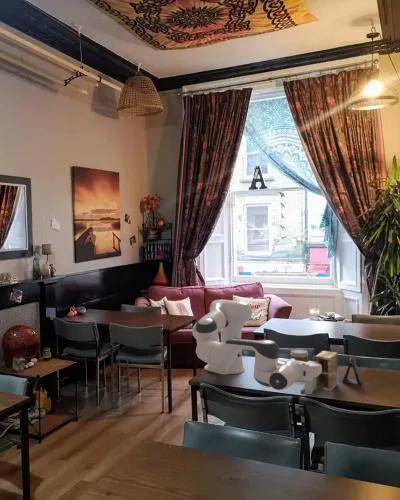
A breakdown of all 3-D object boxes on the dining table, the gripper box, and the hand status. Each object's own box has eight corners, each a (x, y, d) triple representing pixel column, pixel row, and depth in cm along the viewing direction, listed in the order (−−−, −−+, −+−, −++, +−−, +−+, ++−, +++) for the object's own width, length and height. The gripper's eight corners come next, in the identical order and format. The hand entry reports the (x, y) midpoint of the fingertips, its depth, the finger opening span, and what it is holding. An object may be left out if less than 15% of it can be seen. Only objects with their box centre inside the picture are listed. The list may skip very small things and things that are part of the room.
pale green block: (304, 393, 214) (304, 364, 214) (309, 389, 220) (309, 360, 219) (311, 394, 213) (311, 365, 212) (316, 390, 218) (316, 361, 218)
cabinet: (300, 393, 215) (300, 359, 214) (315, 380, 232) (315, 349, 231) (323, 397, 209) (323, 363, 208) (337, 384, 226) (336, 352, 225)
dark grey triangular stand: (342, 382, 228) (342, 359, 228) (343, 379, 234) (343, 356, 233) (361, 385, 225) (361, 361, 224) (362, 381, 230) (362, 357, 229)
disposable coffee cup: (308, 376, 239) (308, 353, 238) (290, 375, 241) (290, 353, 240) (308, 370, 248) (307, 349, 248) (290, 369, 250) (290, 348, 250)
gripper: (269, 373, 199) (282, 364, 211) (315, 381, 188) (325, 372, 200) (269, 359, 199) (282, 351, 211) (315, 366, 188) (325, 358, 199)
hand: (303, 361), depth 205 cm, fingers open, 8 cm apart
